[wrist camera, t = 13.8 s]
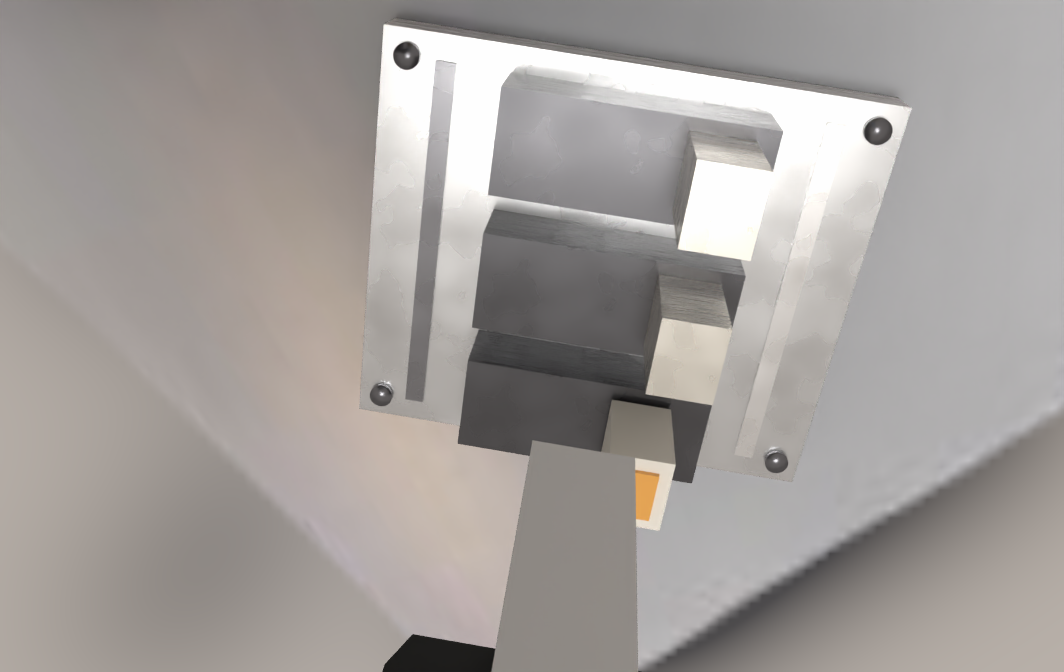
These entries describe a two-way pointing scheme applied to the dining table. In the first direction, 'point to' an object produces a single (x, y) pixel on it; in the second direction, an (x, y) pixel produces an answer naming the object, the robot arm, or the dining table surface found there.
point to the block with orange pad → (644, 454)
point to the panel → (477, 204)
